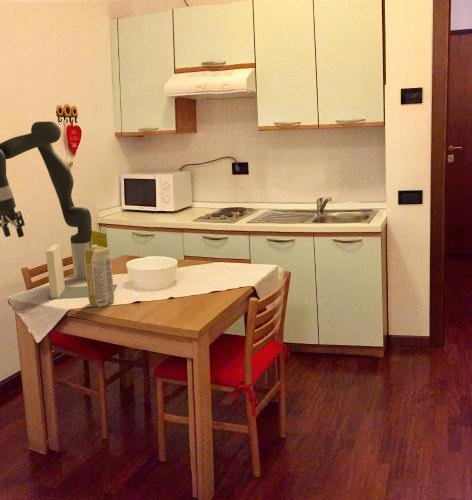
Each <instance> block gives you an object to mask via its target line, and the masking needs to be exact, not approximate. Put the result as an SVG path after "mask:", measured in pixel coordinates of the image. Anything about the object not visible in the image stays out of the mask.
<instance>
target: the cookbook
mask: <svg viewBox="0 0 472 500" xmlns="http://www.w3.org/2000/svg"><path fill="white" fill-rule="evenodd" d="M61 245H62V244H60V243H55V244H52V245H51V246H50V247H49V248H48V249H47V250H45V257H46V265H47V273H48V282H49V283H48V284H49V292H50V294H51V298H58V297H59V296H60V295H61V293H62V292H63V291H64V289H65V287H66V284H65V275H64V267H63V266H64V265H63V258H62V257H63V256H62V248H61V247H62V246H61ZM50 294H49V295H50Z"/></svg>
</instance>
